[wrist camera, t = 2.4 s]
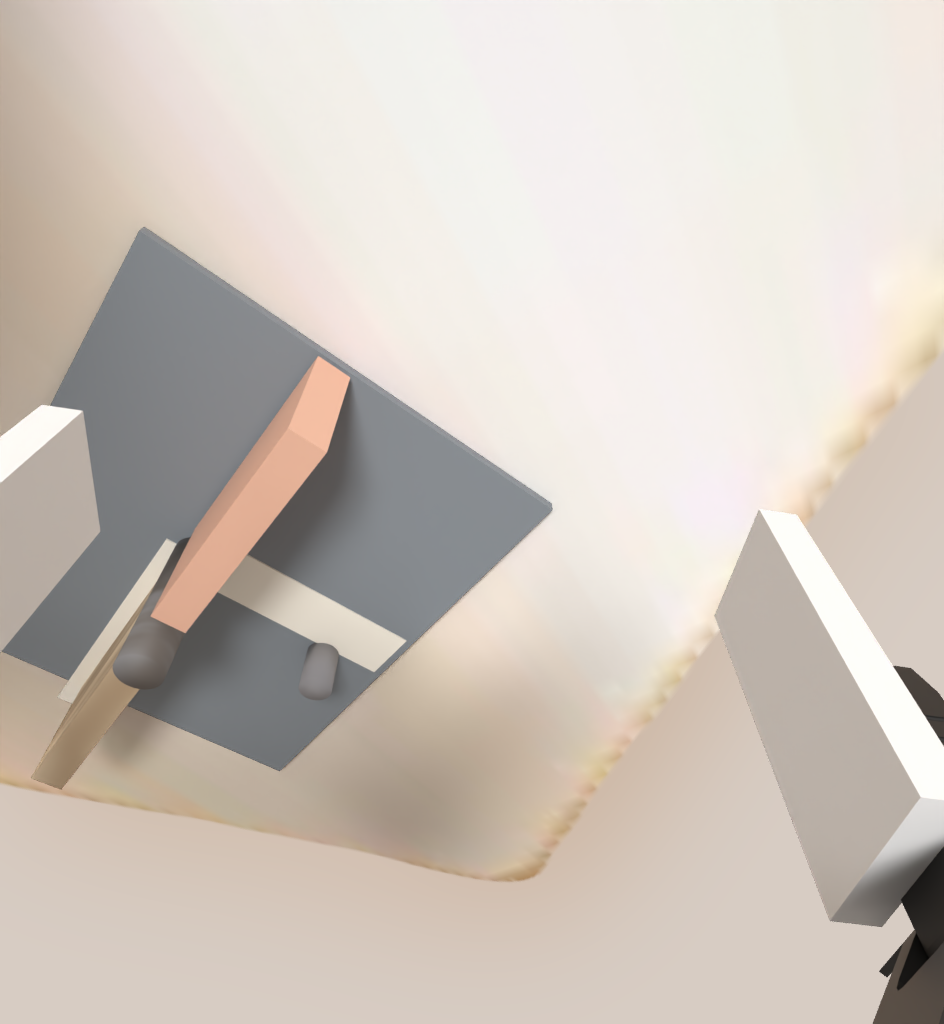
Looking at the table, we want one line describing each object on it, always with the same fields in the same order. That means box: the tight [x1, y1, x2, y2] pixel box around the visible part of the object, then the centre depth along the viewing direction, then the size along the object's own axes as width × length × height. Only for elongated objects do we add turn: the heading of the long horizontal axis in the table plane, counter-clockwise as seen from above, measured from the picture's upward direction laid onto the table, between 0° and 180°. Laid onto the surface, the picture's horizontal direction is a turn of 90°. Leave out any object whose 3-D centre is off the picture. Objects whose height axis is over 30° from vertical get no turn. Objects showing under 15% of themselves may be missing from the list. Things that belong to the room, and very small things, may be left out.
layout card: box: [2, 227, 552, 771], centre depth 43 cm, size 24×32×4 cm
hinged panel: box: [151, 356, 350, 633], centre depth 36 cm, size 2×13×7 cm, turn 142°
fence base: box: [31, 537, 191, 789], centre depth 42 cm, size 2×16×9 cm, turn 142°
